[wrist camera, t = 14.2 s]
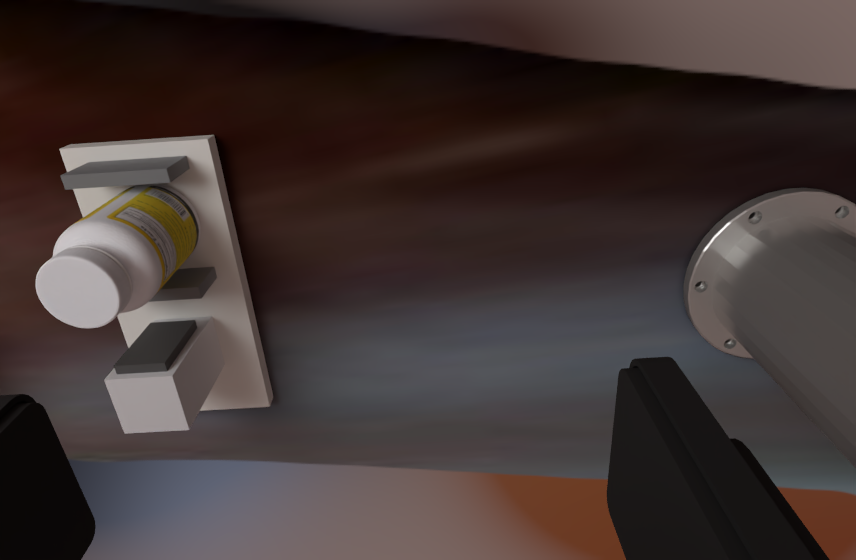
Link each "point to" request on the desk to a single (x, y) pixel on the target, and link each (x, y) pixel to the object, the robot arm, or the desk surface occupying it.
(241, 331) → the white rack stand
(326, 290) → the desk surface
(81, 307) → the supplement bottle
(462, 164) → the desk surface
